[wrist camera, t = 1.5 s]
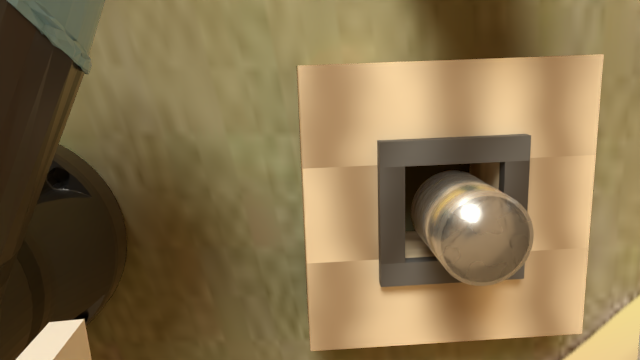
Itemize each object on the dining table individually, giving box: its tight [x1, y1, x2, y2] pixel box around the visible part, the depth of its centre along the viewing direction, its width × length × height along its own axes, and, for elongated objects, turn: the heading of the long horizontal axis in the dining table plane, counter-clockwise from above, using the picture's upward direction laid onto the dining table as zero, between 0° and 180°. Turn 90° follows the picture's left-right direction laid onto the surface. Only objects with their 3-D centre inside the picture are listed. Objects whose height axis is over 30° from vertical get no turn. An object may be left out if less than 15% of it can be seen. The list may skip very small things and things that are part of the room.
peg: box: [411, 170, 534, 286], centre depth 29 cm, size 5×5×6 cm
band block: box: [297, 54, 604, 351], centre depth 34 cm, size 18×18×6 cm
